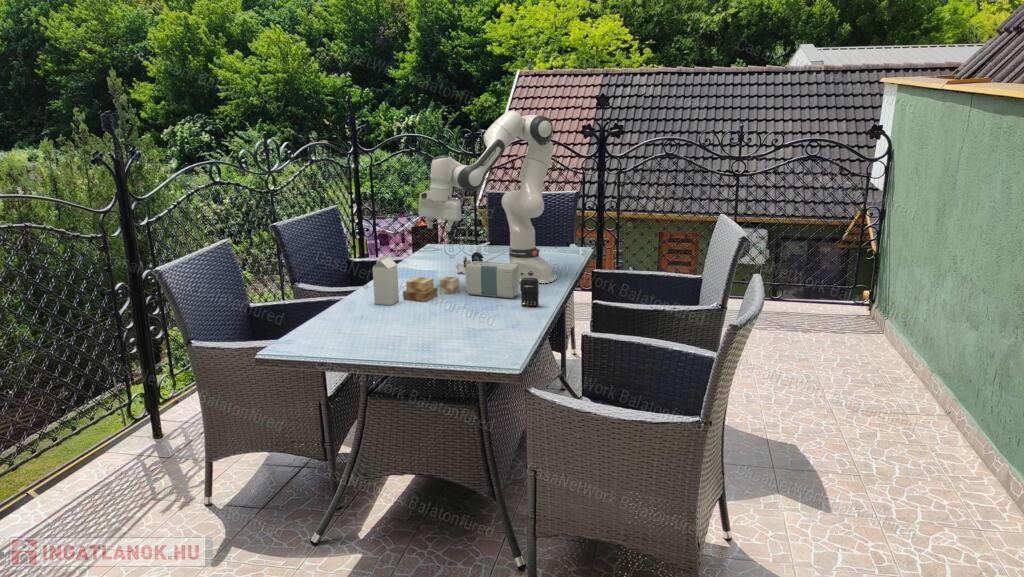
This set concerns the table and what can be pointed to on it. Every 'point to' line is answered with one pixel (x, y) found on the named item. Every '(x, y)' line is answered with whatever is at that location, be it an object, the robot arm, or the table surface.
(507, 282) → the stereo radio cassette player
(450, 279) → the maple cube
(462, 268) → the artificial flower
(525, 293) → the battery
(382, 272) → the milk carton
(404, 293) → the walnut slab
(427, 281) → the oak slab
